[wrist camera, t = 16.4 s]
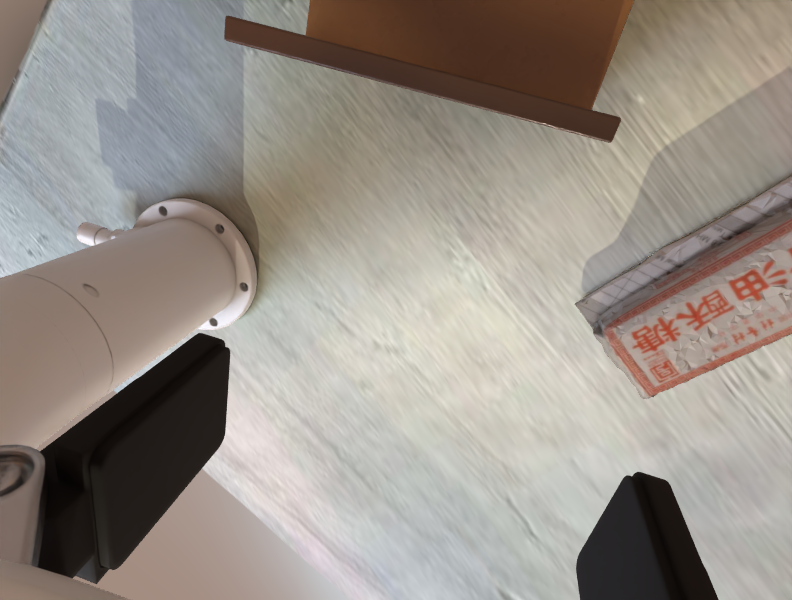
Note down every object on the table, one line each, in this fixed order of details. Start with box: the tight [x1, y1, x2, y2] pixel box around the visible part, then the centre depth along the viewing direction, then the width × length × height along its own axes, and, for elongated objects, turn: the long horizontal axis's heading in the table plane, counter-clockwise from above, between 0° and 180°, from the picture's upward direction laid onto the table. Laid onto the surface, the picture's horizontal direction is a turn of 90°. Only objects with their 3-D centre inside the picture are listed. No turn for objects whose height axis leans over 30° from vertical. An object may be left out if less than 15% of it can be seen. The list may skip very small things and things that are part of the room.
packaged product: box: [575, 176, 792, 399], centre depth 32 cm, size 18×5×10 cm
